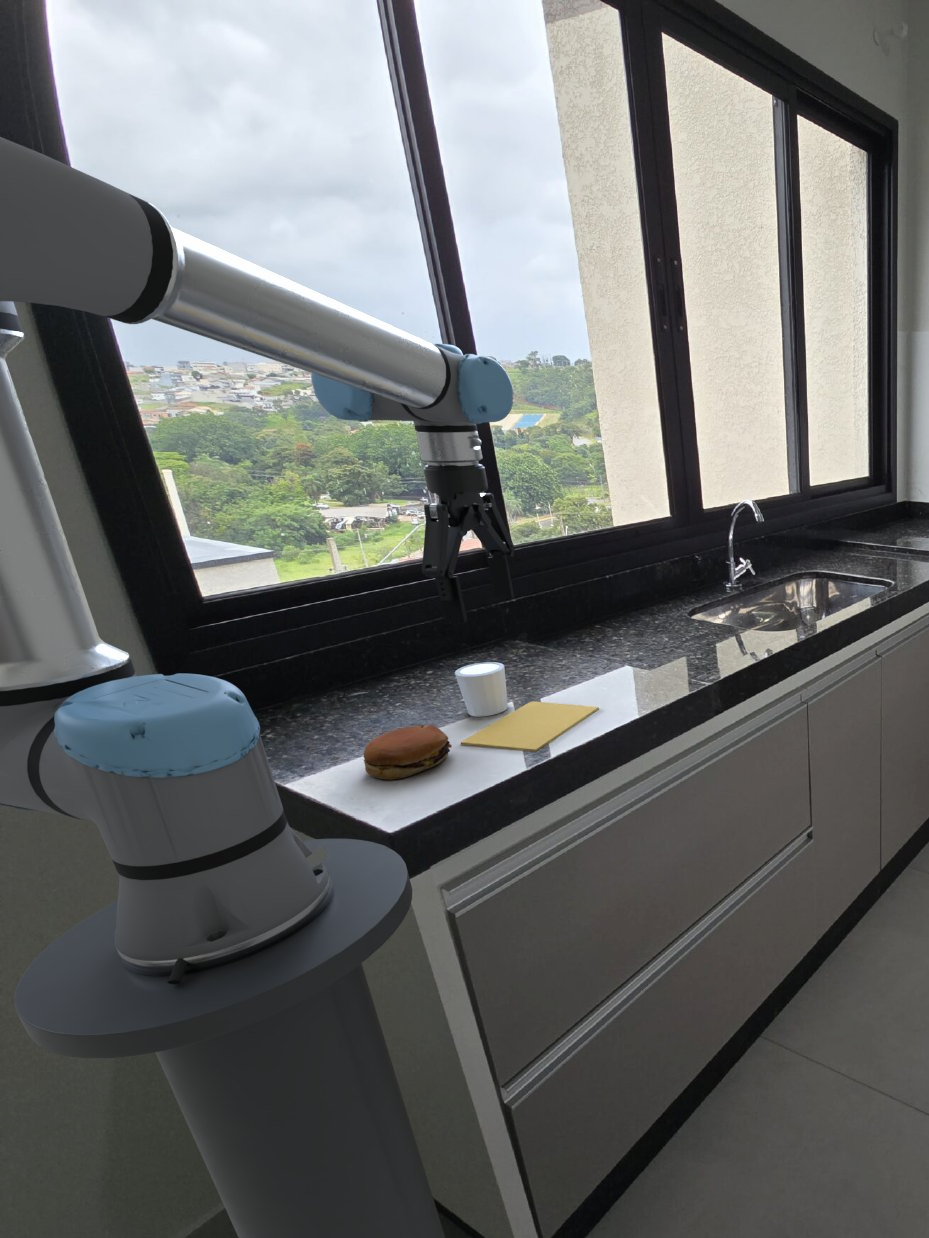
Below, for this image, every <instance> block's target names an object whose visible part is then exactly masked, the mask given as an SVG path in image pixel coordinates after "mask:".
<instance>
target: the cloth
mask: <svg viewBox="0 0 929 1238" xmlns="http://www.w3.org/2000/svg"><path fill="white" fill-rule="evenodd" d="M599 709H600V707H599V706H591V705H581V704H580V705H579V704H569V703H568V704H567V703H556V702H546V701H545V702H544V701H534V700H533V701H532V700H531V701H530V702H528V703H526V704H525V705H522V706H520V707H519V708H517V709H515V710H514V711H512V712H510V713H508V714H507V715H506V716H503V717H502V718H500V719H498V720H496V721H495V722H493V723H491V724H489V725H488V726H486V727H484V728H482V729H481V730H479V731H477V732H476V733H474V734H472V735H470V736H469V737H467V738H465V739H463V740H461V741H460V742H459V743H460V745H462V746H471V747H483V748H493V749H502V750H514V751H523V752H524V751H525V752H538V751H539V750H541V749H542V748H543V747H545V746H547V745H548V744H549V743H551V742H553V741H554V740H555V739H556V738H558V737H560V736H561V735H563V734H564V733H566V732H567V731H569V730H570V729H572V728H573V727H575V726H576V725H578V724H580V723H581V722H582V721H583V720H585V719H587V718H588V717H589V716H591V715H592V714H594V713H595V712H597V711H598V710H599Z"/></svg>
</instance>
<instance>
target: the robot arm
mask: <svg viewBox="0 0 929 1238" xmlns="http://www.w3.org/2000/svg"><path fill="white" fill-rule="evenodd" d="M14 302H15V303H26V304H27V303H28V304H39V305H49V306H56V307H63V308H68V309H72V310H77V311H82V312H87V313H91V314H94V315H97V316H101V317H104V318H108V319H110V320H113V321H116V322H119V323H122V324H128V325H139V324H143V323H146V322H148V321H151V320H153V321H156V322H160V323H162V324H165V325H167V326H171V327H174V328H177V329H181V330H183V331H187V332H189V333H192V334H195V335H197V336H201V337H203V338H207V339H210V340H213V341H215V342H218V343H222V344H225V345H227V346H231V347H233V348H235V349H240V350H242V351H245V352H249V353H251V354H255V355H257V356H260V357H263V358H266V359H269V360H272V361H274V362H278V363H281V364H284V365H287V366H289V367H294V368H296V369H299V370H302V371H305V372H308V373H310V376H311V377H310V379H311V380H310V381H311V384H312V388H313V393H314V395H315V397H316V399H317V401H318V403H319V404H320V405H321V407H322V408H323V409H324V410H325V411H326V412H327V413H328V414H330V415H331V416H332V417H335V418H337V419H339V420H343V421H358V422H360V423H361V422H366V423H367V422H369V421H392V422H393V421H396V422H397V421H398V422H413V426H414V430H415V435H416V440H417V445H418V451H419V455H420V460H421V461H422V462H424V463H426V465H424V467H423V473H424V479H425V484H426V489H427V490H428V492H429V493H431V494H434V495H435V494H436V495H437V497H438V503H425V504H424V505H423V511H424V517H425V518H424V519H425V526H424V540H423V551H422V563H421V574H422V576H425V577H426V578H428V579H429V578H433V579H435V582H436V587H437V593H438V596H439V600H440V603H441V608H442V613H443V618H444V621H445V623H466V622H468V618H467V613H466V608H465V604H464V603H465V602H464V598H463V593H462V588H461V582H460V578H459V576H458V575H454V574H455V571H456V566H457V562H458V559H459V554H460V550H461V545H462V541H463V538H464V537H465V536H467V534H468V532H470V531H472V532H473V534H474V535H475V537H476V538H477V539H478V540H479V542H480V543H481V545H482V546H483V547H484V548H485V549H486V551H487V552H488V554H489V555H490V556H489V557H487V564H488V569H489V574H490V581H491V585H492V586H491V587H492V590H493V595H494V596H493V597H494V599H501V600H503V599H506V600H507V599H510V600H511V599H514V598H515V594H514V589H513V582H512V578H511V571H510V567H509V559H508V557H513V556H514V555H515V551H514V548H515V545H514V543H513V541H512V538H511V536H510V533H509V531H508V529H507V527H506V525H505V523H504V520H503V518H502V515H501V514H500V511H499V509H498V508H497V503H496V499H495V496H494V494H493V492H492V493H491V492H488V493H487V492H486V491H488V489H489V485H488V478H487V474H486V467H485V466H484V465H483V464H481V463H479V462H480V461H482V460H483V454H482V448H481V445H482V440H481V439H480V436H479V432H478V426H477V425H481V424H483V423H497V422H500V421H503V420H504V419H505V418H506V417H508V415H510V413H511V411H512V409H513V407H514V406H513V405H514V387H513V383H512V379H511V378H510V376H509V374H508V372H507V370H506V369H505V367H503V366H502V365H501V363H499V361H497V360H495V359H494V358H492V357H489V356H485V355H477V354H474V353H466V354H463V351H462V350H461V349H460V348H459V347H457V346H456V345H453V344H447V343H433V342H432V343H431V342H428V341H426V340H423V339H422V338H420V337H418V336H415V335H413V334H410V333H408V332H406V331H404V330H401V329H399V328H397V327H396V326H395V327H394V326H393V325H391V324H388V323H387V322H384V321H381V320H379V319H377V318H374V317H372V316H370V315H368V314H366V313H363V312H362V311H359V310H357V309H355V308H352V307H350V306H348V305H345V304H344V303H341V302H340V301H337V300H335V299H333V298H330V297H327V296H326V295H324V294H321V293H319V292H317V291H315V290H313V289H310V288H309V287H306V286H303V285H301V284H299V283H297V282H294V281H292V280H290V279H288V278H286V277H284V276H282V275H279V274H277V273H275V272H273V271H270V270H268V269H266V268H263V267H261V266H259V265H257V264H254V263H252V262H251V261H248V260H246V259H243V258H241V257H239V256H237V255H235V254H232V253H230V252H228V251H226V250H223V249H221V248H219V247H217V246H214V245H212V244H210V243H208V242H205V241H203V240H201V239H199V238H197V237H194V236H192V235H190V234H187V233H185V232H184V231H181V230H179V229H177V228H174V227H173V226H171V224H170V222H169V221H168V218H166V216H165V215H164V213H163V212H162V211H161V210H160V209H159V208H158V207H157V206H155V205H153V204H152V203H151V202H148V201H146V200H145V199H142V198H140V197H138V196H135V195H133V194H131V193H129V192H127V191H125V190H122V189H120V188H118V187H116V186H114V185H112V184H111V183H108V182H106V181H103V180H101V179H99V178H97V177H95V176H92V175H90V174H88V173H86V172H83V171H81V170H79V169H77V168H75V167H72V166H70V165H68V164H66V163H64V162H61V161H59V160H56V159H54V158H52V157H50V156H47V155H45V154H43V153H40V152H38V151H37V150H33V149H31V148H28V147H27V146H24V145H22V144H19V143H16V142H14V141H12V140H9V139H6V138H4V137H1V136H0V806H4V807H9V808H10V807H11V808H14V809H16V810H21V811H22V810H24V811H37V812H38V811H39V812H43V813H49V814H53V815H57V816H63V817H68V818H71V819H77V820H83V821H88V822H93V823H94V824H95V825H96V826H97V829H98V832H99V833H100V835H101V838H102V840H103V842H104V844H105V847H106V849H107V851H108V854H109V856H110V858H111V860H112V862H113V865H114V868H115V870H116V873H117V876H118V878H119V879H118V880H119V883H118V893H117V900H118V904H117V920H116V930H115V947H116V950H117V952H118V954H119V956H120V959H121V961H122V963H123V965H124V966H125V967H126V968H127V969H129V970H130V971H132V972H135V973H138V974H142V975H149V976H170V978H169V980H168V982H167V983H169V984H179V983H180V982H181V980H182V978H183V975H184V974H189V973H195V972H199V971H204V970H208V969H212V968H216V967H220V966H223V965H226V964H230V963H233V962H236V961H238V960H241V959H244V958H247V957H249V956H252V955H254V954H256V953H259V952H261V951H263V950H265V949H268V948H270V947H272V946H274V945H276V944H278V943H279V942H281V941H283V940H285V939H287V938H288V937H290V936H292V935H293V934H295V933H297V932H298V931H300V930H301V929H303V928H304V927H305V926H307V925H308V924H309V923H310V922H312V921H313V920H314V919H315V918H316V917H317V916H318V915H319V914H321V913H322V911H323V910H324V909H325V908H326V907H327V905H328V904H329V902H330V900H331V898H332V895H333V885H332V882H331V878H330V875H329V872H328V870H327V869H326V868H325V866H324V865H323V863H322V861H324V860H325V859H326V858H327V854H326V851H325V848H324V845H323V846H321V847H320V848H319V849H317V850H316V851H315V852H312V851H311V850H310V849H309V848H308V847H307V846H306V845H305V844H304V842H303V841H304V840H302V839H301V838H300V837H299V836H298V835H297V833H296V832H295V831H294V830H293V829H292V828H291V827H290V824H289V822H288V819H287V816H286V813H285V810H284V807H283V804H282V800H281V797H280V794H279V791H278V787H277V785H276V781H275V779H274V775H273V771H272V769H271V765H270V762H269V759H268V755H267V752H266V749H265V746H264V744H263V740H262V737H261V726H260V722H259V720H258V718H257V716H256V715H255V713H254V711H253V709H252V707H251V706H250V703H249V701H248V700H247V697H246V696H245V694H244V692H243V691H241V689H240V688H238V687H237V686H236V685H234V684H233V683H231V682H229V681H227V680H225V679H221V678H218V677H215V676H210V675H204V674H198V673H197V674H196V673H175V674H171V675H164V674H163V673H157V674H155V673H154V674H145V675H138V676H137V672H136V669H135V667H134V663H133V661H132V657H131V656H130V654H129V653H128V652H127V651H124V650H123V649H120V648H118V647H116V646H114V645H111V644H109V643H107V642H106V641H104V640H103V639H102V638H101V637H100V635H99V632H98V629H97V627H96V623H95V620H94V617H93V615H92V612H91V609H90V606H89V603H88V600H87V597H86V594H85V591H84V587H83V585H82V583H81V579H80V576H79V574H78V571H77V568H76V565H75V561H74V558H73V556H72V552H71V550H70V547H69V545H68V544H69V543H68V541H67V538H66V535H65V533H64V530H63V526H62V523H61V520H60V518H59V515H58V511H57V509H56V506H55V503H54V499H53V497H52V494H51V490H50V488H49V485H48V482H47V480H46V476H45V474H44V470H43V467H42V465H41V464H42V463H41V461H40V459H39V455H38V452H37V449H36V447H35V443H34V440H33V437H32V435H31V433H30V429H29V426H28V423H27V420H26V418H25V417H26V416H25V414H24V411H23V408H22V406H21V403H20V399H19V396H18V394H17V391H16V388H15V384H14V382H13V379H12V376H11V373H10V370H9V368H8V364H7V361H6V359H7V356H8V354H9V353H10V352H11V351H13V349H15V348H16V347H17V346H18V345H19V344H21V342H22V341H24V340H25V333H24V330H23V328H22V323H21V321H20V319H19V318H20V317H19V315H18V312H17V308H16V306H15V303H14Z"/></svg>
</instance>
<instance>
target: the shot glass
mask: <svg viewBox="0 0 929 1238" xmlns="http://www.w3.org/2000/svg"><path fill="white" fill-rule="evenodd" d="M454 676H455V678H456V681H457V684H458V688H459V690H460V693H461V696H462V700H463V703H464V706H465V708H466V712H467V714H468V715H470V716H472V717H489V716H493V715H497V714H500V713H503V712H505V711H506V710H507V709H508V708H509V707H508V706H509V703H508V693H507V682H506V670H505V664H503V663H501V662H496V661H487V662H477V663H472V664H467V665H464V666H462V667H460V668H458V669H456V670H455V672H454Z"/></svg>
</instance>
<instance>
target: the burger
mask: <svg viewBox="0 0 929 1238" xmlns="http://www.w3.org/2000/svg"><path fill="white" fill-rule="evenodd" d="M452 748H453V745H452V744H451V741H450V740H449V737H448V736H447V734H445V732H444V731H442V729H440V728H439V727H438V726H435V725H432V724H419V725H413V726H406V727H401V728H397V729H393V730H390V731H388V732H385V733H382V734H380V735H379V736H377V737H375V738H374V739H372V740H371V741H370V742H369V743H368V744H367V745H365V747H364V750H363V763H364V768H365V773H366V774H367V775H368V776H370V777H373V778H376V779H381V780H388V781H394V780H399V779H404V778H408V777H411V776H413V775H416V774H418V773H421V772H423V771H426V770H427V769H431V768H434V767H436V766H437V765H439V764H441V763H442V762H443V761H444V759H446V758H447V757H448V756H449V753H450V752H451V749H452Z"/></svg>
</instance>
